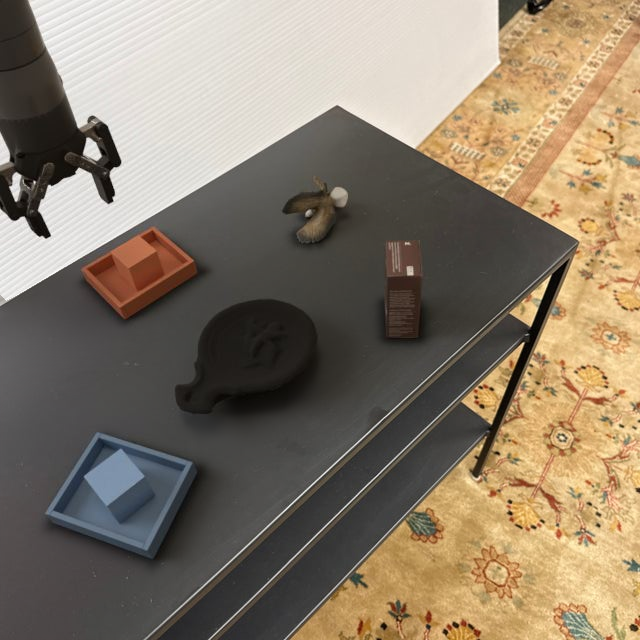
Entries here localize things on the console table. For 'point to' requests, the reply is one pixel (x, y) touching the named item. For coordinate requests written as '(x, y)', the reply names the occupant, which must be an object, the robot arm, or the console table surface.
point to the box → (403, 288)
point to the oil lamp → (248, 353)
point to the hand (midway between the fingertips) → (76, 217)
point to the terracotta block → (137, 262)
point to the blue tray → (145, 523)
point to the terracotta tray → (130, 300)
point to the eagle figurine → (316, 210)
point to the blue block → (120, 485)
